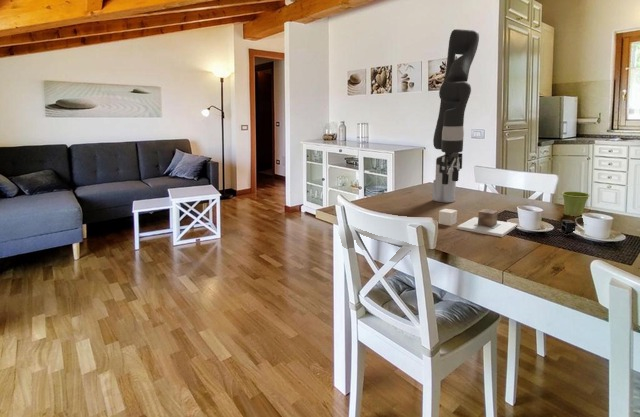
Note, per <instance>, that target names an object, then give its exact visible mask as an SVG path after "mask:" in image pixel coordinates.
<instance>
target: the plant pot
mask: <svg viewBox="0 0 640 417" xmlns="http://www.w3.org/2000/svg"><path fill="white" fill-rule="evenodd" d="M561 195H562V198H563V208H564V209H563V211H564V212H563V214H564V215H565V216H570V217H573V216H574V217H577V216H579V217H581V216H580V215H582V216H583V214H584V210H585V208H586V204H587V201H588V199H589V198H590V196H591V195H590V194H589V193H586V192H581V191H571V190H570V191H562V193H561ZM577 218H578V217H577Z"/></svg>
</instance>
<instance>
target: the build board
mask: <svg viewBox="0 0 640 417" xmlns="http://www.w3.org/2000/svg"><path fill="white" fill-rule="evenodd" d="M518 224H519V223H515V222H508V221H502V220H497V224H496V225H494V226H493V227H487V226H482V225H478V217H477V216H474V217H472V218H469V219H468V220H467V221H464V222H463V223H460V224H459V225H457V226H456V229H457V230H461V231H467V232H472V233H476V234H477V233H478V234H485V235H489V236H495V237H500V238H503V237H504V236H507V234H509V233H510V232H512V231H513V230H515V229H516V228H515V226H516V225H517V226H518Z"/></svg>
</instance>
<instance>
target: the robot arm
mask: <svg viewBox="0 0 640 417" xmlns="http://www.w3.org/2000/svg"><path fill="white" fill-rule="evenodd" d="M479 41H480V33H479V32H478V31H477V30H474V29H472V30H471V29H460V28H459V29H458V28H457V29H453V30H452V31H451V33H450V35H449V40H448V46H447V47H448V49H447V58H446V66H445V67H446V68H445V73H444V74H445V75H444V78H443V83H442V84H441V86H440V87H439V91H438V95H439V99H440V104H439V105H440V106H439V110H438V111H439V112H438V117H437V121H436V125H435V128H434V129H435V130H434V133H433V140H432V142H433V147H434V149H436V150H440V151H441V152H442V153H444V154H443V155H440V156H438V157H436V158H435V160H436V161H435V177H434V178H435V179H433V184H432V185H433V186H432V201H435V202H439V203H452V202H453V203H454V202H455V201H456V183H457V182H458V181H459V175H460V174H459V172H460V171H461V170H462V169H463V151H464V135H465V133H464V132H465V130H464V124H465V123H464V122H465V121H464V120H465V112H466V108H467V104H468V101H469V99H470V96H471V94H472V93H471V92H472V87H471V84H470V83H469V82H468V80H469V75H470V68H471V66H472V63H473V62H474V59H475V56H476V53H477V50H478V46H479ZM456 55H459V57H458V58H457V57H456Z"/></svg>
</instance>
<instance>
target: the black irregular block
mask: <svg viewBox="0 0 640 417" xmlns="http://www.w3.org/2000/svg"><path fill="white" fill-rule="evenodd" d="M576 223H577V222H575V221H574V220H571V219H562V220H561V225H560V226H561V227H560V228H561V229H557V230H559V231H560V232H563V233H565V234H568V233H571V232H573V231H575V232H576V227H577V225H576ZM557 230H556V231H557Z"/></svg>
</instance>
